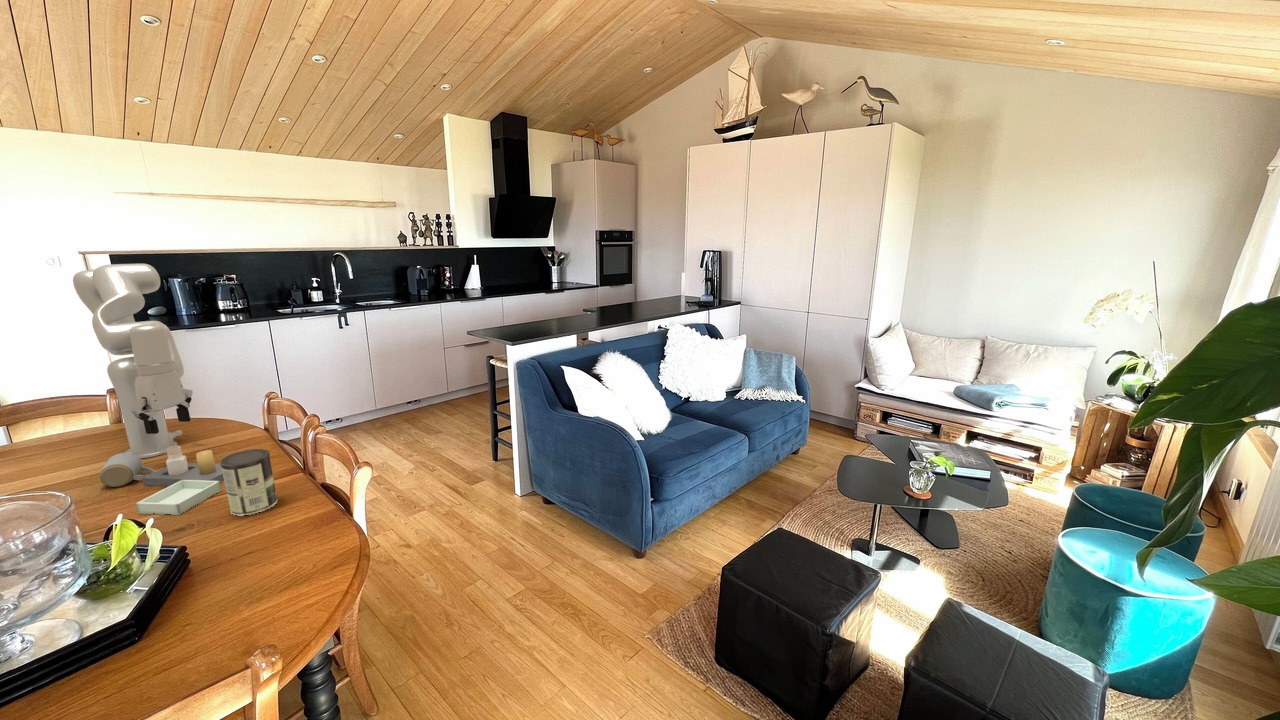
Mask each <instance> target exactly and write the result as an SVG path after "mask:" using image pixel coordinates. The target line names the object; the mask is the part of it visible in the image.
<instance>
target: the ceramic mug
mask: <svg viewBox="0 0 1280 720" xmlns="http://www.w3.org/2000/svg"><path fill="white" fill-rule="evenodd" d="M140 472H143V473H147V474H146V475H145V474H143V475H142V474H139V473H140ZM154 472H156V471H155V470H154V469H153V468H150V467H149V466H148V467H147V466H143V462H142V458H139V457H138V456H136V455H134V454H130V453H125V452H120V453H117V454H114V455H112V456H110V457H109V458H108V459H107V461H106V462H105V464H104V465H103V467H102V468H101V470H100V473H99V480H100V482H101V483H102V484H103V485H105V486H108V487H110V488H111V487H112V488H117V487H118V488H121V487H123V486H126V485H128V484H129V483H131V482H132V481H133V480H135V481H143V479H142V478H143V477H145V476H148V475H150V474H152V473H154Z"/></svg>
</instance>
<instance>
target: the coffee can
mask: <svg viewBox="0 0 1280 720" xmlns="http://www.w3.org/2000/svg"><path fill="white" fill-rule="evenodd" d="M270 455H271V454H270V451H269V450H267V449H264V448H256V449H255V448H254V449H246V450H242V451H238V452H234V453H231V454H229V455H227V456H225V457H223V458H222V459H220V461H219V464H220V466H221V468H222V473H223V477H224V482H223V483H224V485H225V491H226V495H227V501H228V505H229V510H230V511H229V512H231V513H230V514H231V515H232V514H233V515H232V516H235V515H237V516H236V517H245V516H244V515H249V516H253V515H256V514H255V513H257V514H259V513H258V512H261V513H263V512H265V510H266V511H268V510H270V509H271V507H272V508H273V507H274V506H276V505H277V504H278V500H279V498H278V496H277V495H278V494H277V490H276V486H275V479H274V475H273V474H274V473H273V468H272V463H271V457H270ZM275 504H276V505H275ZM267 509H268V510H267ZM262 511H263V512H262ZM252 514H253V515H252Z"/></svg>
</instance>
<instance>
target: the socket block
mask: <svg viewBox="0 0 1280 720" xmlns="http://www.w3.org/2000/svg"><path fill="white" fill-rule="evenodd" d="M195 456H196V460H197V463H194V462H193V463H192V462H190V463H189V462H187V464H188V469H189V471H187V472H185V473H183V474H181V475H169V473H168V469H167V466H165V467H162V468H160V469H159V470H156V471H155V472H154V473H152V474H147V475H148V476H145V477H143V478H142V479H143V480H142V482H143V485H144V486H155V487H156V486H159V487H160V486H161V487H169V486H171V485H173V484H175V483H177V482H179V481H181V480H206V481H220V483H222V482H223V480H224V477H223V473H222V468H221V466H220V463H215V459H214V454H213V450H211V449H207V450H201V451H198V452H196V453H195ZM221 481H222V482H221Z"/></svg>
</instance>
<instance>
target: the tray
mask: <svg viewBox="0 0 1280 720" xmlns="http://www.w3.org/2000/svg"><path fill="white" fill-rule="evenodd" d="M221 483H222V482H220V481H206V480H181V481H179V482H177V483H175V484H173V485H171V486H166V487H165V488H163V489H161V490H159V491H156V493H153V494H151V495H150V496H147V497H145V498H143V499H141V500H140V501H138V502H136V503H135V506H136V509H137V514H138V515H139V514H141V515H142V514H144V515H145V514H146V515H164V514H171V515H170V516H180V515H181V513H182V514H184V513H186V512H187V511H189V510H191V509H192V508H194V507H196V506H198V505H199V504H201V503H203V502H205V501H206V500H208V499H210V498H212V497H213V496H215V495H217V494H219V493H220V492H222V491H223V488H222V485H221ZM216 493H217V494H216ZM214 494H215V495H214ZM212 495H213V496H212ZM211 496H212V497H211ZM209 497H210V498H209ZM207 498H208V499H207ZM204 500H205V501H204ZM202 501H203V502H202ZM200 502H201V503H200ZM198 503H199V504H198ZM197 504H198V505H197ZM195 505H196V506H195ZM193 506H194V507H193ZM191 507H192V508H191ZM190 508H191V509H190ZM188 509H189V510H188ZM186 510H187V511H186ZM183 512H184V513H183ZM153 513H155V514H153Z"/></svg>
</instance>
